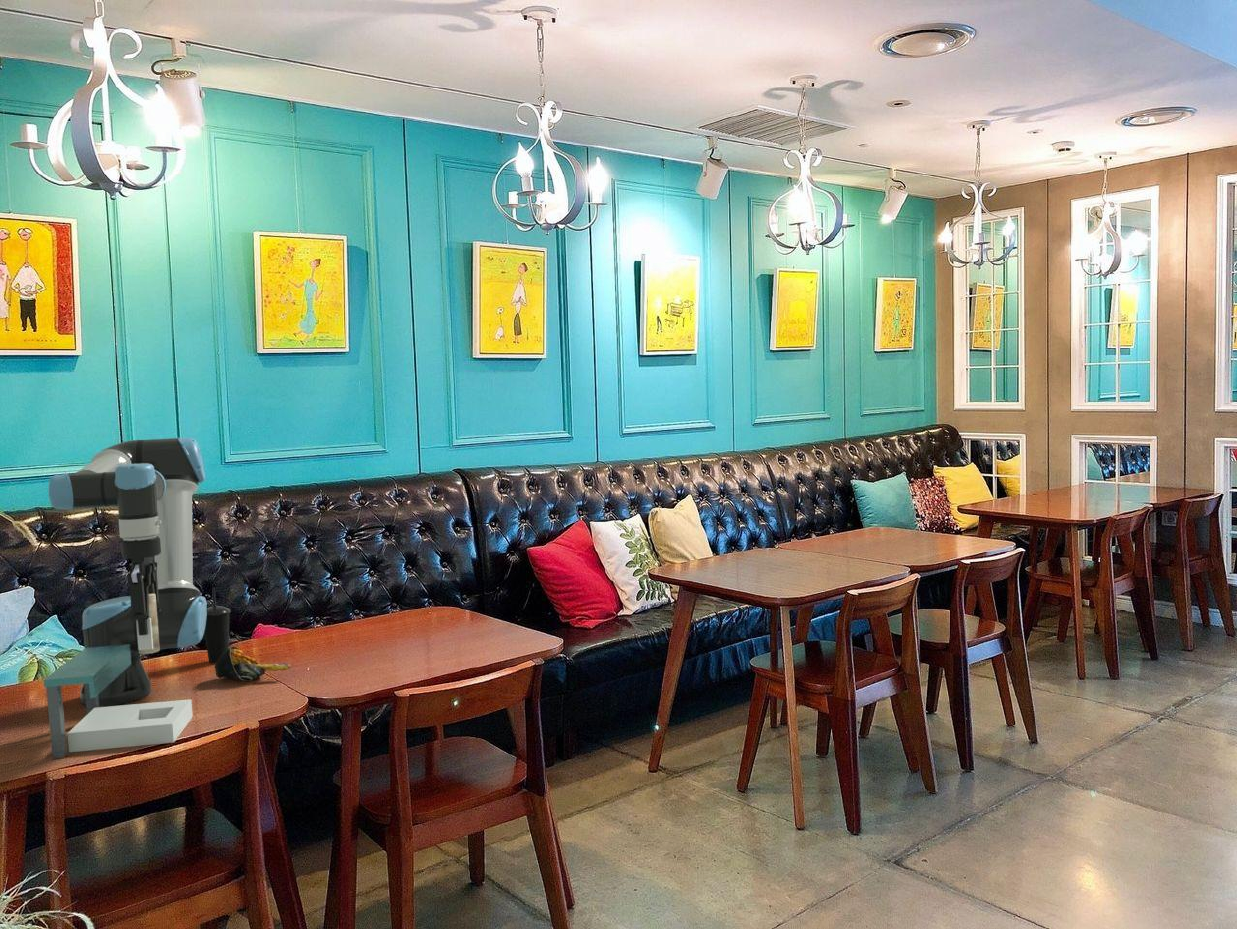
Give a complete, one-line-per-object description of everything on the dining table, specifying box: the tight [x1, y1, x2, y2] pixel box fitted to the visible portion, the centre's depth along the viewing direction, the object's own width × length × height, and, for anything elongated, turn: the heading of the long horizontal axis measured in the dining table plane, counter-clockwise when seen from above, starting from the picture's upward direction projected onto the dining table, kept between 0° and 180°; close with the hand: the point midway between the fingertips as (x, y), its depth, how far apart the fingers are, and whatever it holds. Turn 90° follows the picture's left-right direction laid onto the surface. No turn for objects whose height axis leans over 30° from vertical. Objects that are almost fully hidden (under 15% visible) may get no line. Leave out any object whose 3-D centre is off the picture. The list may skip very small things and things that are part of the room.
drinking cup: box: [203, 587, 231, 664], centre depth 262 cm, size 8×8×20 cm
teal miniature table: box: [43, 644, 131, 760], centre depth 207 cm, size 24×9×16 cm, turn 10°
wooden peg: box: [139, 594, 161, 655], centre depth 208 cm, size 4×4×12 cm
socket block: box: [66, 698, 194, 753], centre depth 209 cm, size 16×20×4 cm
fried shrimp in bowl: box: [214, 644, 292, 682], centre depth 246 cm, size 9×11×18 cm
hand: (148, 646), depth 209 cm, fingers closed on wooden peg, 4 cm apart
